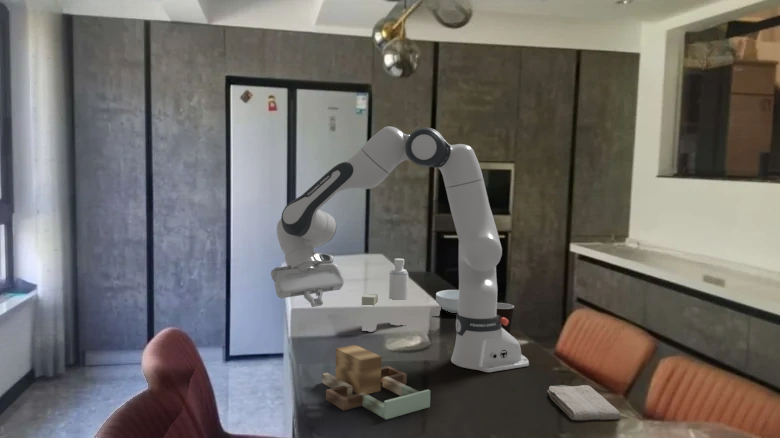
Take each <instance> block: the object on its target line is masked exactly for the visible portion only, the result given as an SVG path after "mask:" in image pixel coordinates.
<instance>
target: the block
mask: <svg viewBox="0 0 780 438" xmlns="http://www.w3.org/2000/svg"><path fill="white" fill-rule="evenodd" d="M381 367H382V355H379V354H377V353H374V352H373V351H370V350H368V349H366V348H364V347H362V346H358V345H356V344H352V345H346V346H342V347H341V346H340V347H336V348H335V377H336V378H338V379H340V380H342V381H344V382H346V383H348V384H349V385H351V386H352V393H355V394H359V393H366V394H368V395H370V394H374V393H378V392H381V391H382V383H381Z"/></svg>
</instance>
